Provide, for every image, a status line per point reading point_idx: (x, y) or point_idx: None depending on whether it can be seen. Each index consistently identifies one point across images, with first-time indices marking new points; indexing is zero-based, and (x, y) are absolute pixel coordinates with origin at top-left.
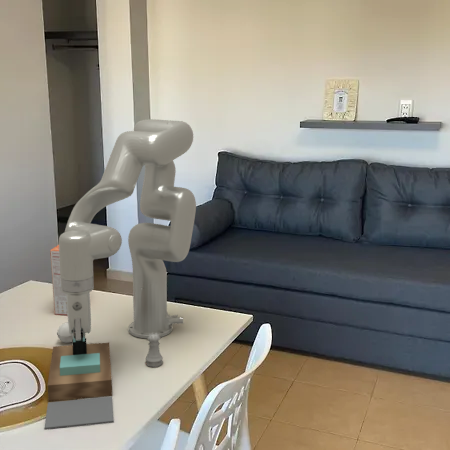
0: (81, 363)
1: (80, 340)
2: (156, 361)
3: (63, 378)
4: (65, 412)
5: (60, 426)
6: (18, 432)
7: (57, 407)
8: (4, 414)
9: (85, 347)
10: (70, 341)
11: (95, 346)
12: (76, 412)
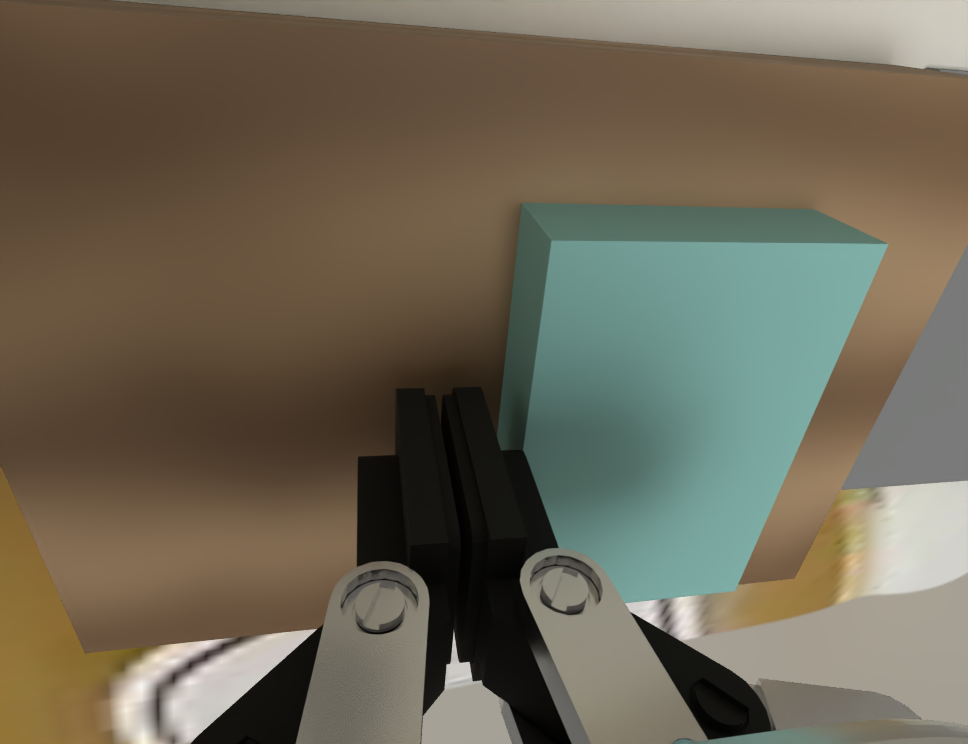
0: (749, 441)
1: (896, 706)
2: None
3: None
4: (920, 401)
5: None
6: (916, 558)
7: None
8: (741, 628)
9: (502, 467)
10: None
11: (36, 250)
12: (963, 342)
